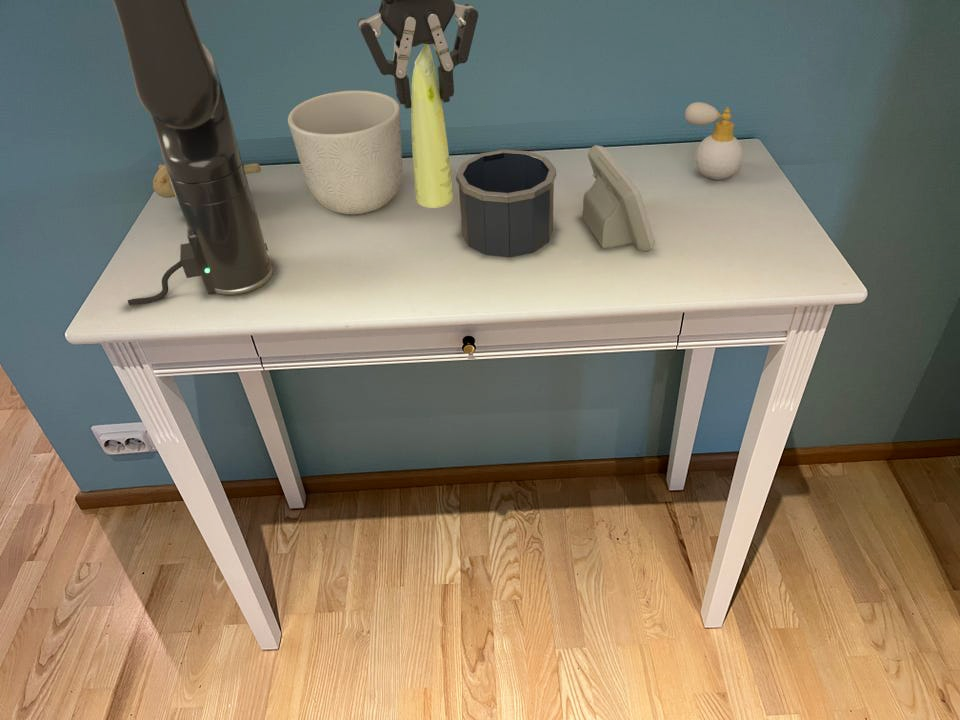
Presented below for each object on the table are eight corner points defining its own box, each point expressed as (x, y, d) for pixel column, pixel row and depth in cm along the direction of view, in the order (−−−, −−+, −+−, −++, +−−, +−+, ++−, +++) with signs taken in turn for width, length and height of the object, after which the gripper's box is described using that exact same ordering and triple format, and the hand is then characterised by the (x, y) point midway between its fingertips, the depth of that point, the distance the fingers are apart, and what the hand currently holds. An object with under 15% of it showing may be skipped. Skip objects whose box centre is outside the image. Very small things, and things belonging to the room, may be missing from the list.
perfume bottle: (745, 184, 120) (760, 113, 112) (686, 189, 119) (697, 117, 112) (730, 163, 125) (743, 94, 117) (674, 168, 125) (683, 98, 117)
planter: (384, 234, 113) (370, 140, 103) (288, 219, 118) (266, 129, 108) (425, 182, 125) (416, 94, 115) (336, 171, 130) (320, 86, 120)
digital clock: (656, 256, 105) (665, 189, 98) (593, 260, 105) (597, 193, 98) (634, 200, 117) (641, 137, 110) (578, 204, 117) (581, 141, 110)
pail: (476, 265, 106) (472, 203, 99) (451, 218, 116) (446, 159, 109) (567, 247, 108) (569, 185, 101) (535, 202, 118) (535, 143, 112)
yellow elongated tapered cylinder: (463, 203, 96) (453, 50, 83) (430, 215, 94) (414, 60, 81) (440, 186, 100) (427, 38, 87) (408, 198, 98) (390, 47, 85)
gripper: (466, -71, 81) (474, 83, 93) (338, -57, 79) (362, 100, 90) (486, -57, 76) (491, 105, 87) (349, -41, 73) (373, 124, 84)
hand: (425, 102), depth 88 cm, fingers closed on yellow elongated tapered cylinder, 4 cm apart
